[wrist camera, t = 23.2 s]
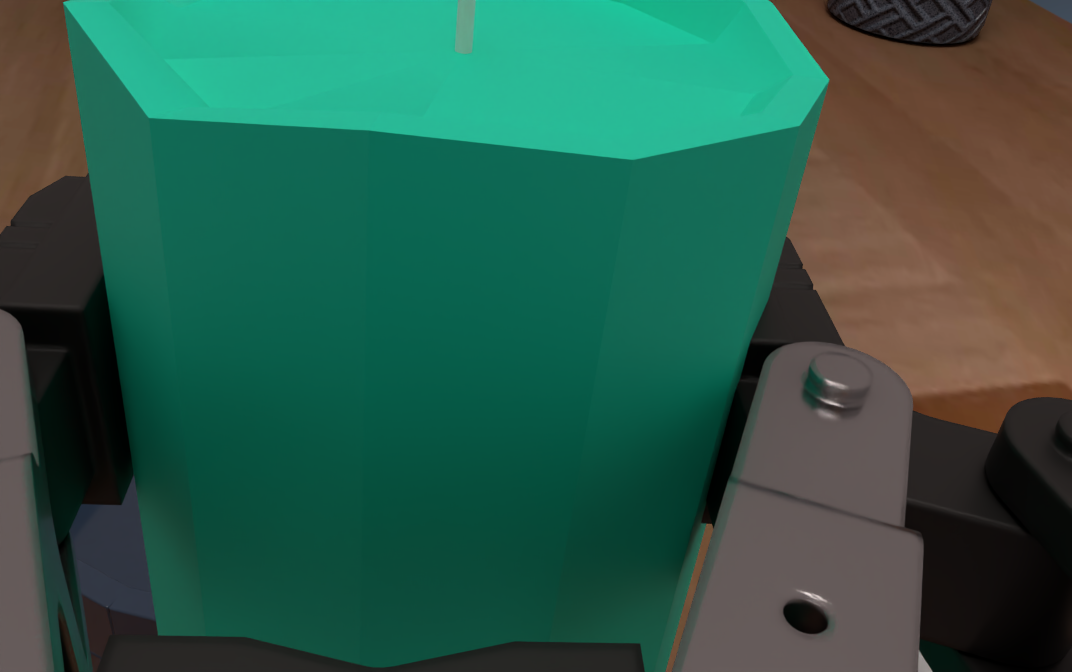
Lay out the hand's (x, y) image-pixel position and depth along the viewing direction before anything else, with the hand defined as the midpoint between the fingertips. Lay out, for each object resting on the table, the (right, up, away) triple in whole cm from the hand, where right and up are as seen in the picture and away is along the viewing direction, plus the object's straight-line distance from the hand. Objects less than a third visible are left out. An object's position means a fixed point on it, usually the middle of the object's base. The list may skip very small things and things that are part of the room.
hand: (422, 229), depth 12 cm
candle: (0, -7, +2) cm, 8 cm away
